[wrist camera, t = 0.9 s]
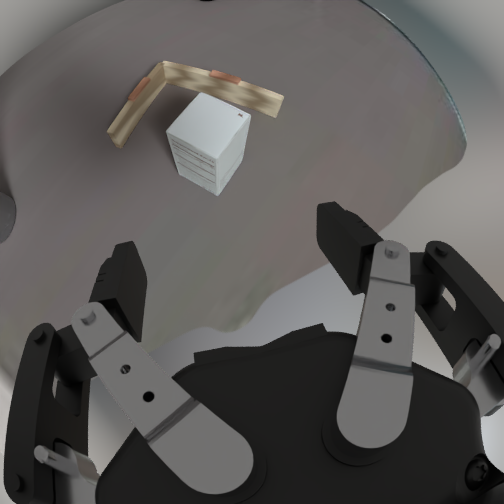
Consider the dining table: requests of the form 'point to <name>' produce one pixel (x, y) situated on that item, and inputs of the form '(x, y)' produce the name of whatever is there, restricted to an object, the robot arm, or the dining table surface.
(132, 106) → the wooden corner bracket
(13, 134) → the dining table surface
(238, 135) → the supplement box
